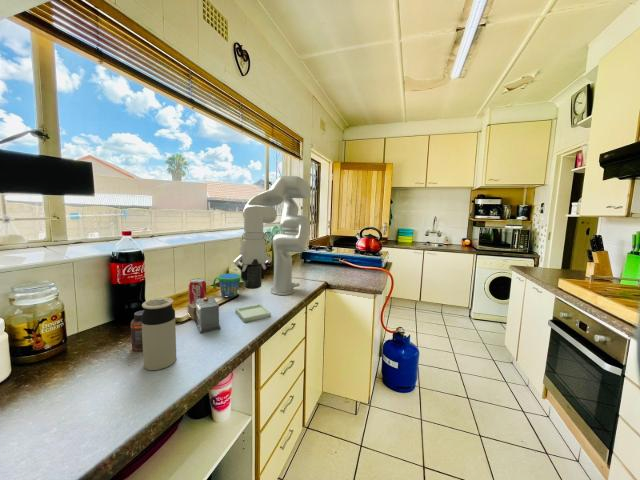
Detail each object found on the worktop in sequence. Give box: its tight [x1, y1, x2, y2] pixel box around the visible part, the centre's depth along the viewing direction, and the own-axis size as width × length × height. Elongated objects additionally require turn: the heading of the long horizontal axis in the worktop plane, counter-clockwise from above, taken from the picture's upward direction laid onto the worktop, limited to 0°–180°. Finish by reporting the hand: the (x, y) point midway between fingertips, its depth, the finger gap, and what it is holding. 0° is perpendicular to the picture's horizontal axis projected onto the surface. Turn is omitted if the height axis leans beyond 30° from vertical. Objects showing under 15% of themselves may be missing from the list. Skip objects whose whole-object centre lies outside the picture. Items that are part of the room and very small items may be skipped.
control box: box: [194, 296, 222, 334], centre depth 97 cm, size 7×11×10 cm, turn 34°
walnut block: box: [187, 303, 197, 321], centre depth 104 cm, size 5×5×5 cm
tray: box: [235, 303, 272, 323], centre depth 108 cm, size 11×11×2 cm
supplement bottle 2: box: [245, 259, 263, 290], centre depth 106 cm, size 7×7×12 cm
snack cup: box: [212, 272, 246, 298], centre depth 129 cm, size 16×10×10 cm
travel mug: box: [141, 297, 177, 371], centre depth 73 cm, size 8×8×18 cm
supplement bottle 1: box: [130, 309, 144, 352], centre depth 81 cm, size 6×6×11 cm
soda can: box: [188, 277, 207, 305], centre depth 114 cm, size 7×7×12 cm
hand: (253, 278), depth 106 cm, fingers closed on supplement bottle 2, 6 cm apart
